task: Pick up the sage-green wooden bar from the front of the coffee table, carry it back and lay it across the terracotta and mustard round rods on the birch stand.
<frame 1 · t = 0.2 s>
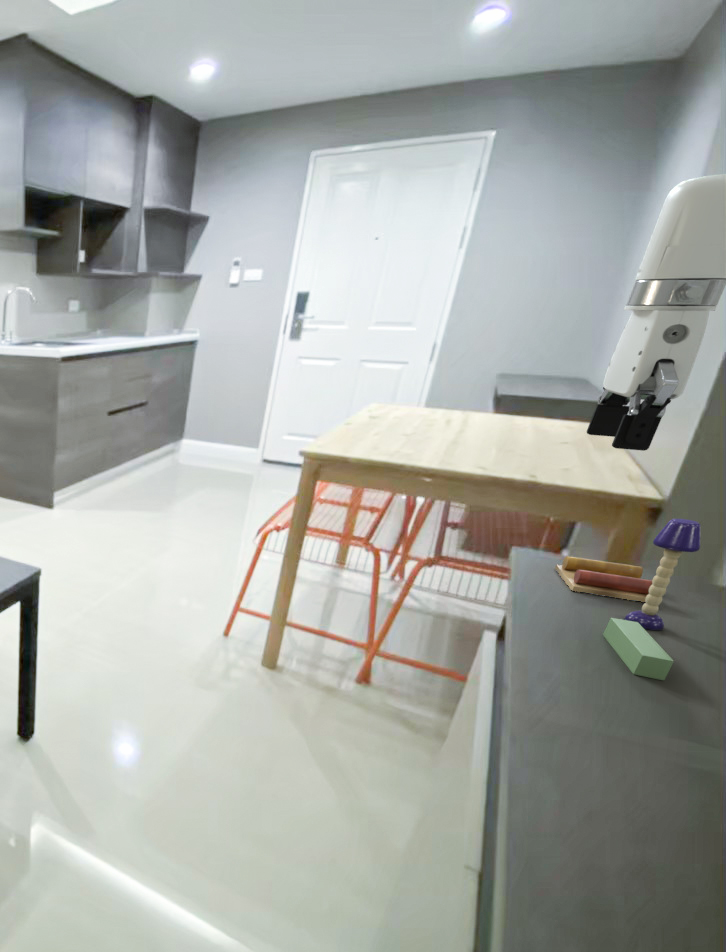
hand: (614, 441, 78), 29 cm above the cabinet, tool pointing down, fingers open, 9 cm apart
toy lamp: (640, 623, 94), on the cabinet
rod stand: (603, 586, 106), on the cabinet
bar: (631, 656, 85), on the cabinet
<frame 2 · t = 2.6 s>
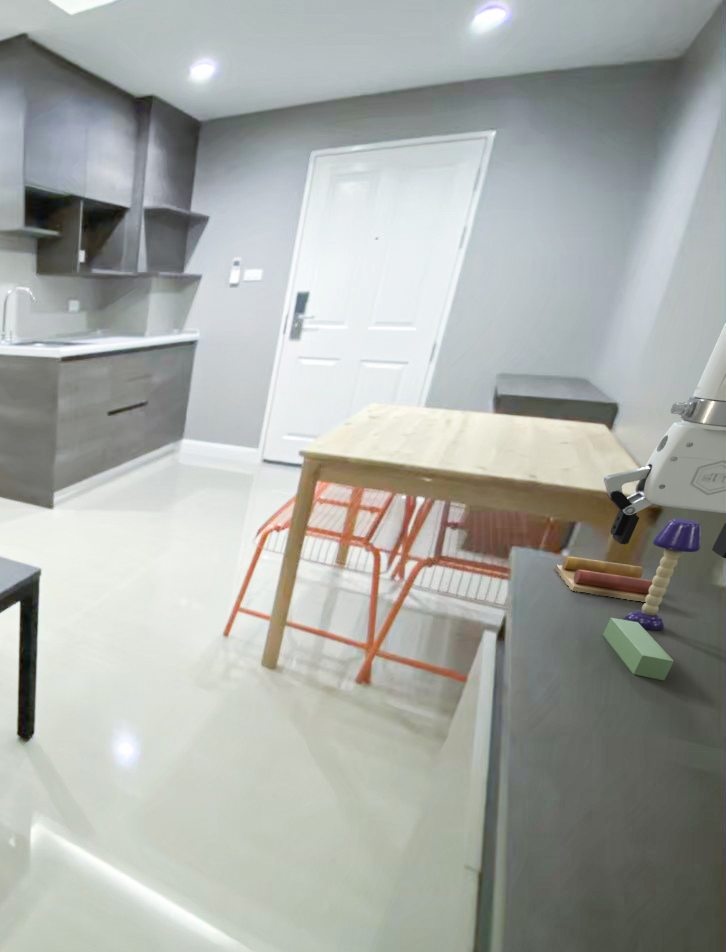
hand: (668, 547, 79), 16 cm above the cabinet, tool pointing down, fingers open, 9 cm apart
nothing on the cabinet moved.
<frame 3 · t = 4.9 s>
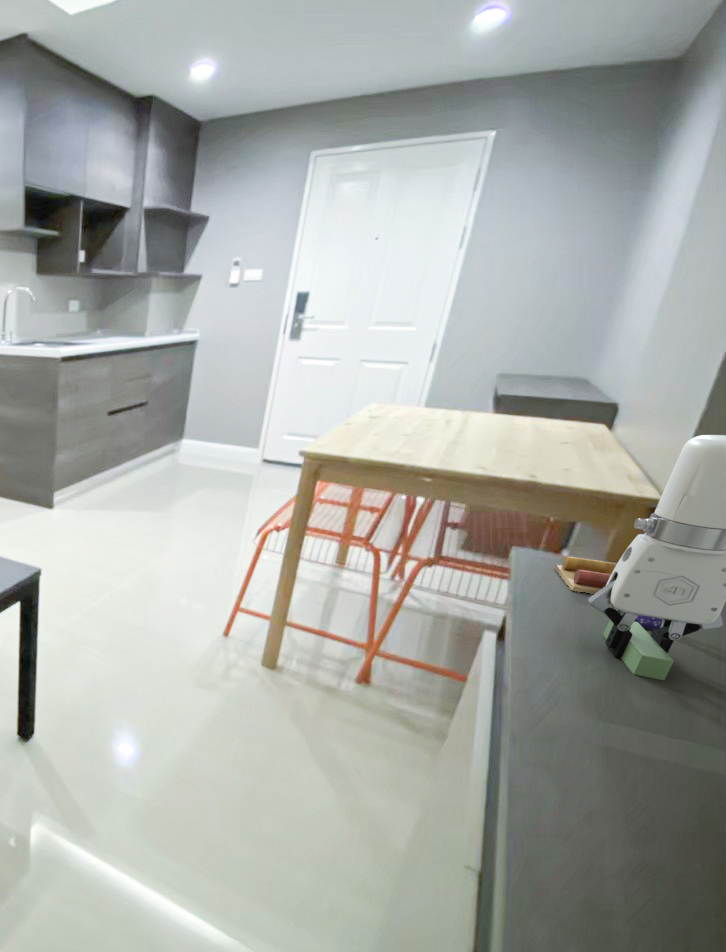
hand: (632, 655, 85), 0 cm above the cabinet, tool pointing down, fingers closed on bar, 3 cm apart
bar: (631, 656, 85), on the cabinet, touching gripper
everything else where it was.
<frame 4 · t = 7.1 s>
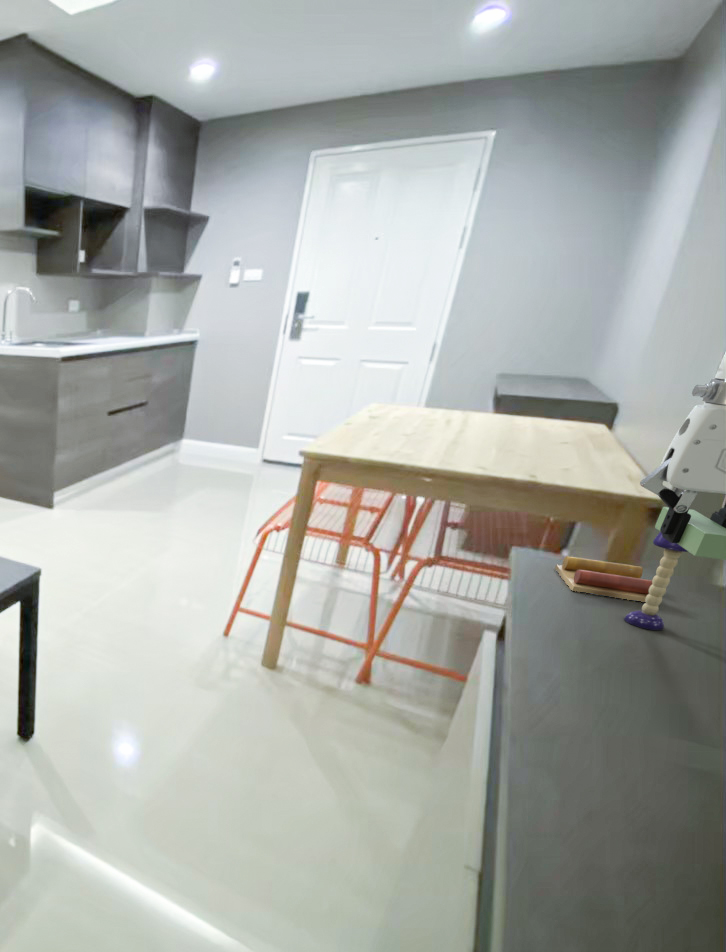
hand: (690, 541, 78), 17 cm above the cabinet, tool pointing down, fingers closed on bar, 3 cm apart
bar: (689, 542, 78), point 17 cm above the cabinet, touching gripper
everything else where it was.
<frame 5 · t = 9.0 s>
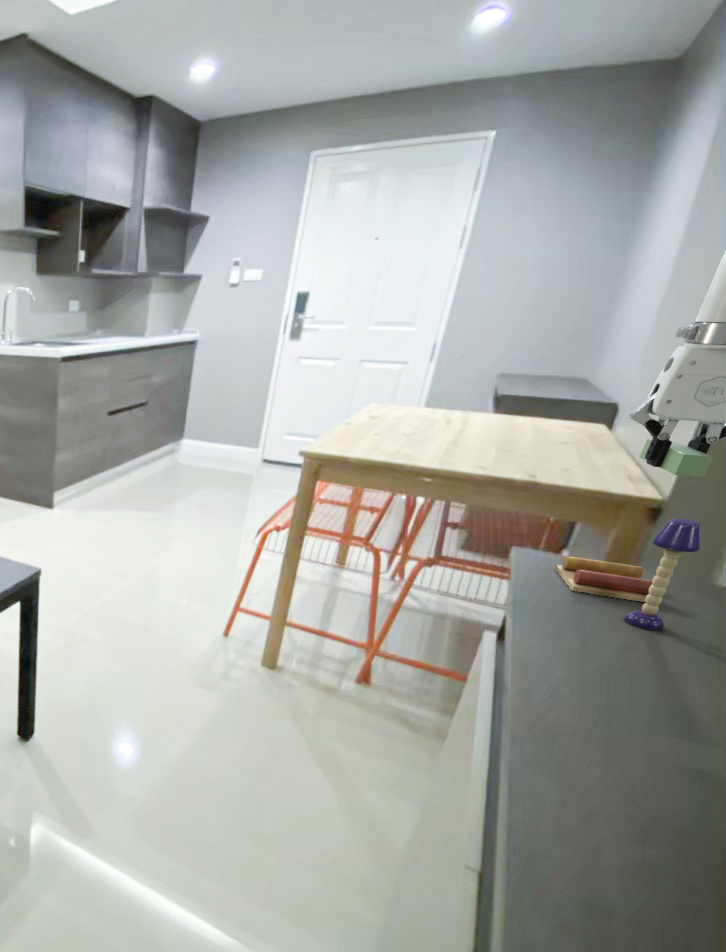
hand: (670, 465, 91), 23 cm above the cabinet, tool pointing down, fingers closed on bar, 3 cm apart
bar: (669, 466, 91), point 23 cm above the cabinet, touching gripper
everything else where it was.
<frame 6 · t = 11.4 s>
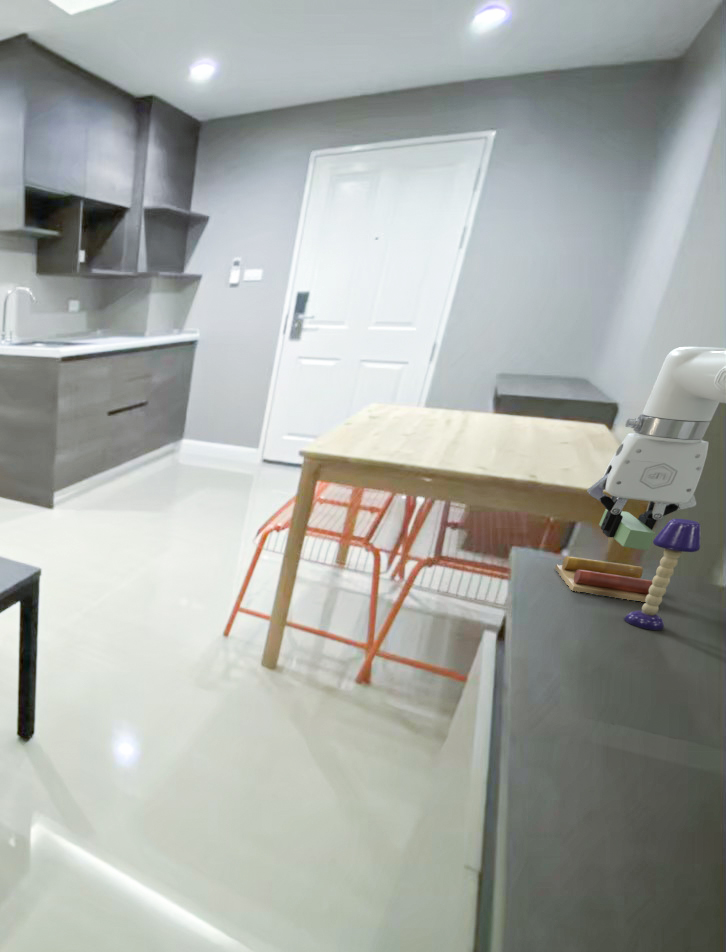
hand: (622, 535, 103), 9 cm above the cabinet, tool pointing down, fingers closed on bar, 3 cm apart
bar: (622, 537, 103), point 9 cm above the cabinet, touching gripper
everything else where it was.
when the fingers open (4 cm above the cabinet, at t = 13.1 s): bar stays where it is, resting on rod stand.
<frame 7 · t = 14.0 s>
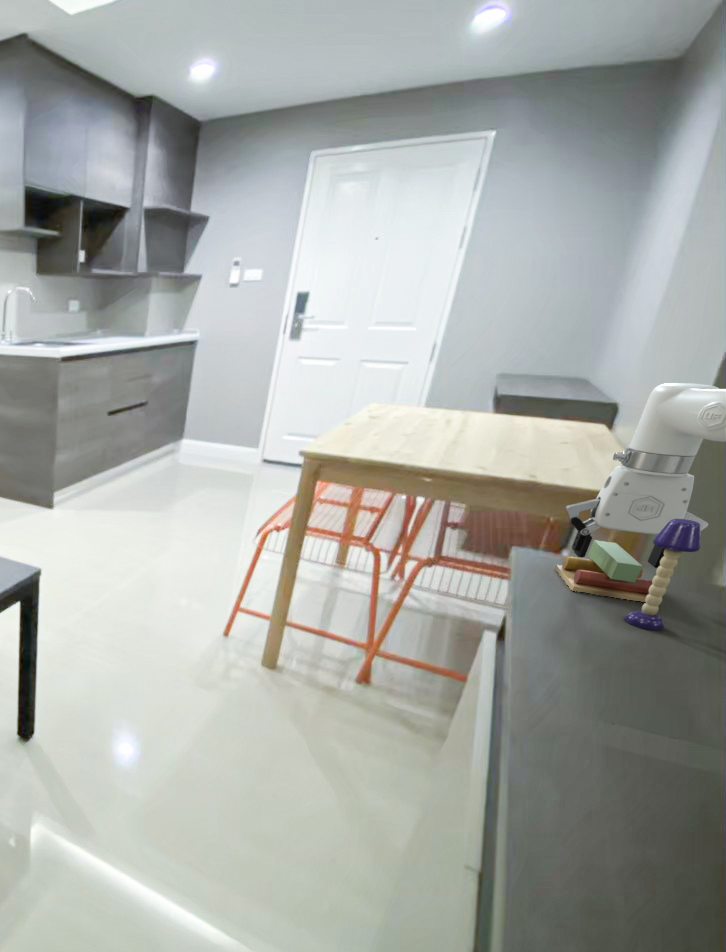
hand: (615, 560, 104), 5 cm above the cabinet, tool pointing down, fingers open, 9 cm apart
bar: (610, 568, 105), point 3 cm above the cabinet, touching rod stand
everything else where it was.
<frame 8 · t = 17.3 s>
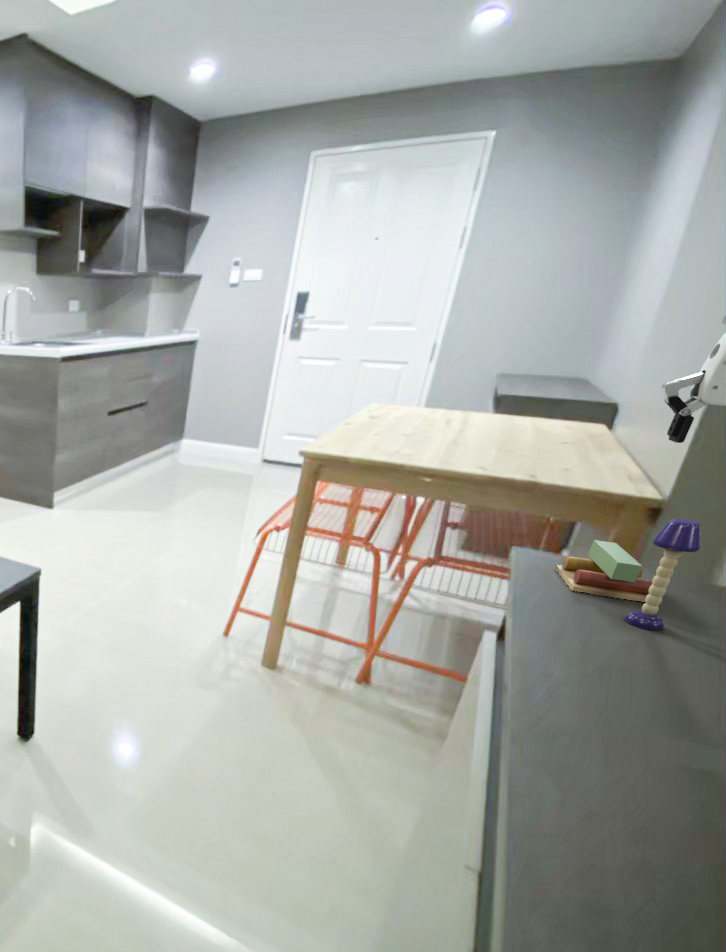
hand: (719, 444, 91), 26 cm above the cabinet, tool pointing down, fingers open, 9 cm apart
nothing on the cabinet moved.
at the end: bar 0.1 cm off-centre on the rod stand, point 3.4 cm above the rod stand's base; bar tilted 0°; bar touching rod stand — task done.
